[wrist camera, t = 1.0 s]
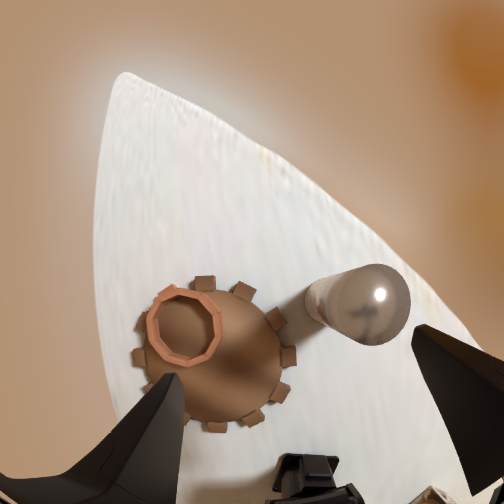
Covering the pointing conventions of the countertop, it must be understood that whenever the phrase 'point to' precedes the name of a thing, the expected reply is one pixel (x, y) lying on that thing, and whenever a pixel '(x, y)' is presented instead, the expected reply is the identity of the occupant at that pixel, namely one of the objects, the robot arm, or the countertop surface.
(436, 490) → the coffee box
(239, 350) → the sprocket
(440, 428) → the countertop surface
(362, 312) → the drive pin
